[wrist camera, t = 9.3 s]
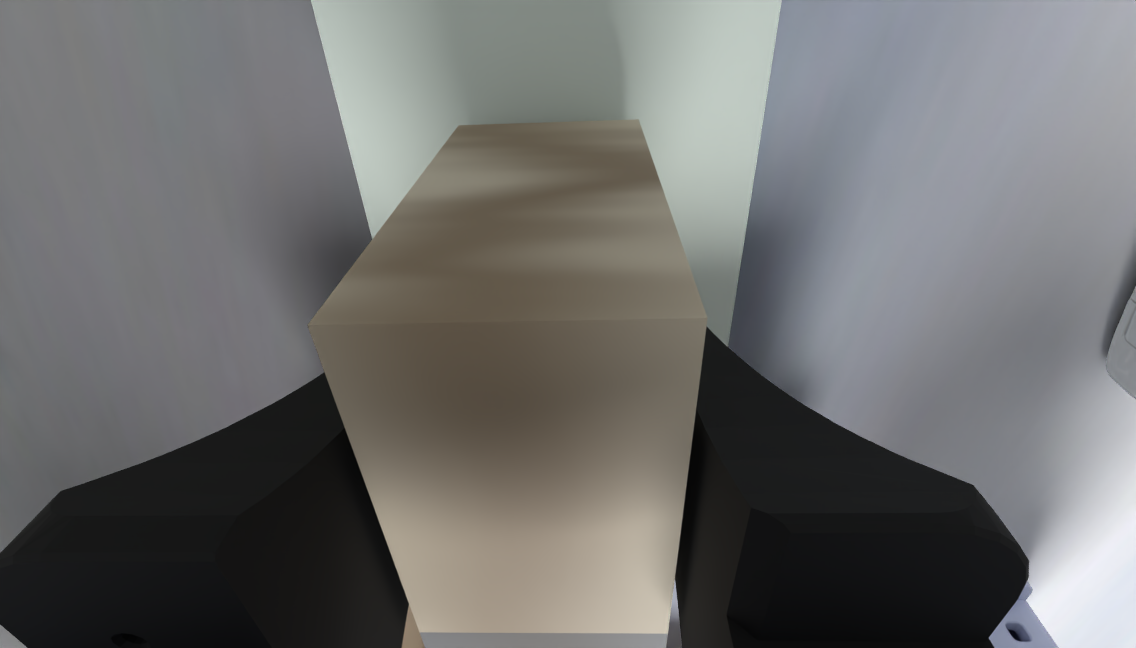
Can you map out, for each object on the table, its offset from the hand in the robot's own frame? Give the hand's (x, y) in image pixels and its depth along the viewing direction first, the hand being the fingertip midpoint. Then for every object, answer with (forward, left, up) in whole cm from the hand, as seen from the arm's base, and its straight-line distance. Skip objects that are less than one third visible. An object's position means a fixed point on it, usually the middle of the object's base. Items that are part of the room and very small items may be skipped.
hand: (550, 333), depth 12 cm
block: (0, 0, -3) cm, 3 cm away
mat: (0, 0, -4) cm, 4 cm away
